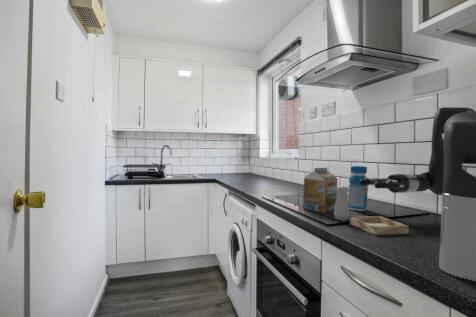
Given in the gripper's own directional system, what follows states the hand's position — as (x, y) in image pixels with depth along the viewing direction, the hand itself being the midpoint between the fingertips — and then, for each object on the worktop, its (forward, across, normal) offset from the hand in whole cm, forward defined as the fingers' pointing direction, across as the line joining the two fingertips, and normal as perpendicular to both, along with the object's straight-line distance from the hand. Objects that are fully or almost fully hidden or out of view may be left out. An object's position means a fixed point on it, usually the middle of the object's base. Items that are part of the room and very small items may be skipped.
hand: (367, 183), depth 101 cm
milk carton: (+10, -18, +14) cm, 25 cm away
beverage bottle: (-8, -16, +14) cm, 23 cm away
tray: (+6, +12, +14) cm, 19 cm away
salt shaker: (+12, 0, +14) cm, 18 cm away
